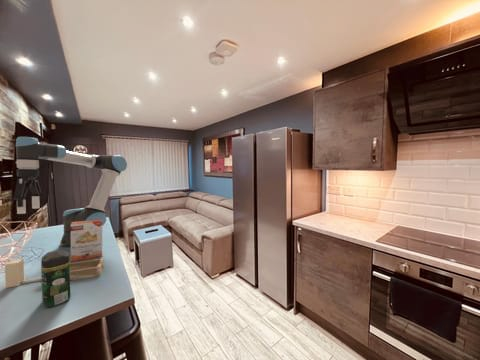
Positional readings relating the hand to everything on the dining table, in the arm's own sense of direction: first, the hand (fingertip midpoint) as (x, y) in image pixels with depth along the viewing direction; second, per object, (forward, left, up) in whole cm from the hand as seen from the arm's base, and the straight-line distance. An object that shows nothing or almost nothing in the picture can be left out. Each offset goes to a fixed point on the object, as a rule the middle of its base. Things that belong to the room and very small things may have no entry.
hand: (29, 210), depth 99 cm
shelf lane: (+18, +25, -29) cm, 42 cm away
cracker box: (-2, +23, -29) cm, 37 cm away
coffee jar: (+38, +22, -29) cm, 53 cm away
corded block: (+18, +9, -29) cm, 35 cm away
